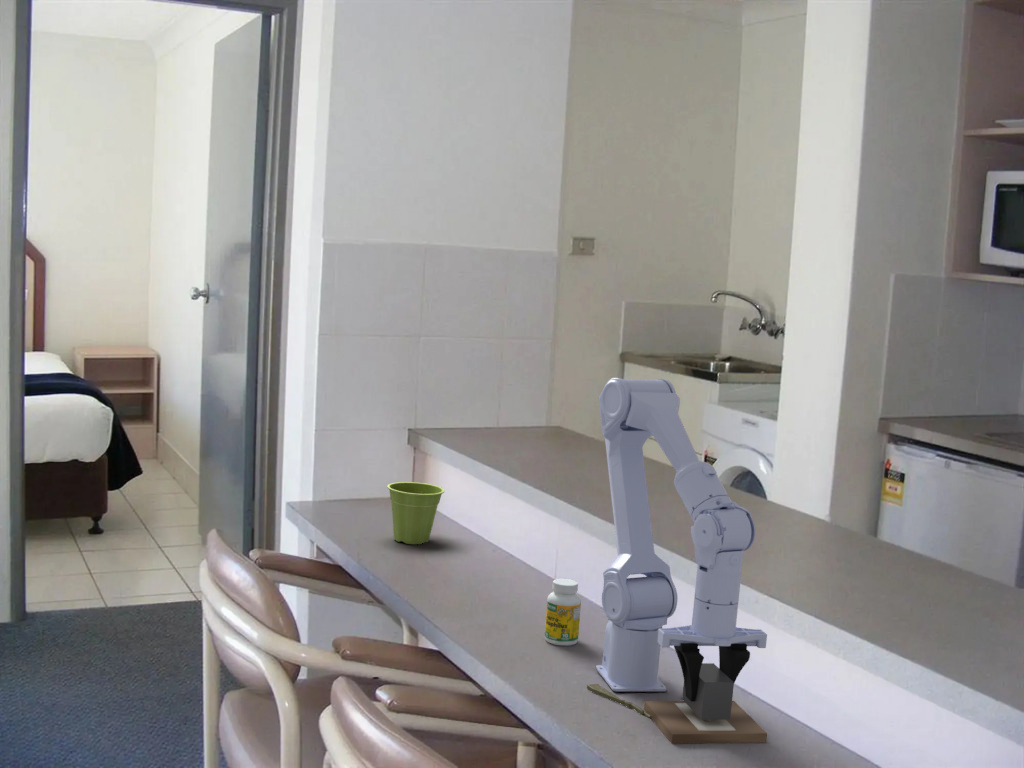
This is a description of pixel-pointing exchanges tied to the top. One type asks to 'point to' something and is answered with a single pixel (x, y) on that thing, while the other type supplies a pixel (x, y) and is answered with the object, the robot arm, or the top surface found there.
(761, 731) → the pin board
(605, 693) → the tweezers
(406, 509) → the plant pot
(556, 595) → the supplement bottle
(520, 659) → the top surface
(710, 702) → the block
